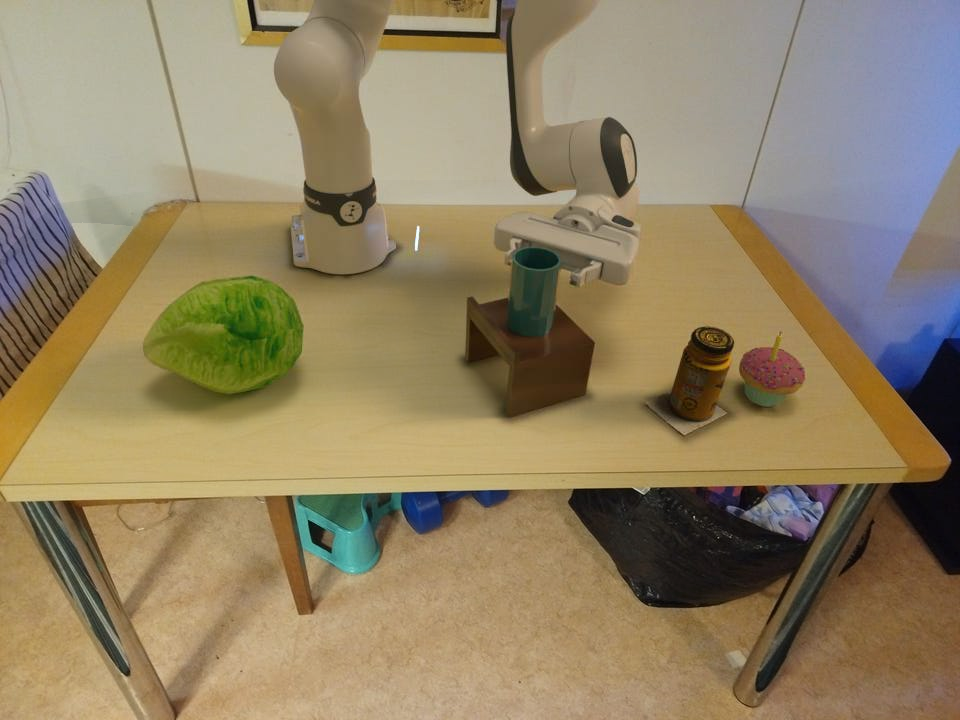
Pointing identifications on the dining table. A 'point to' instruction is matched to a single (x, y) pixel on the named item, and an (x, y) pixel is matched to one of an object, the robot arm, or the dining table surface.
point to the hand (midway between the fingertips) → (541, 270)
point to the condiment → (697, 381)
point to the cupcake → (770, 374)
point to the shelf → (531, 356)
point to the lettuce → (228, 335)
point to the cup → (533, 291)
